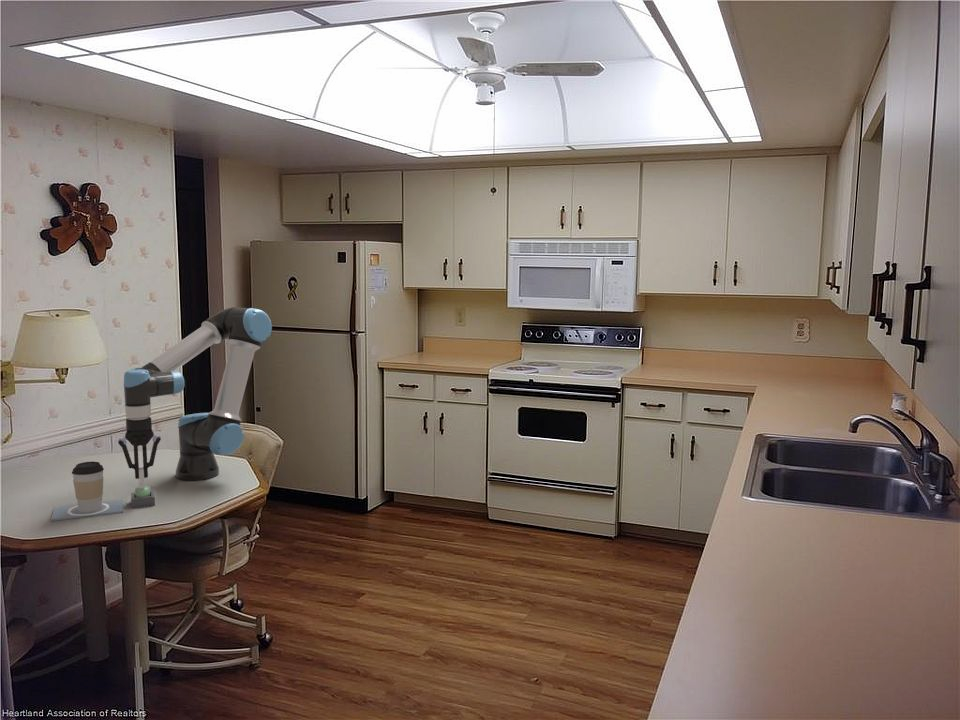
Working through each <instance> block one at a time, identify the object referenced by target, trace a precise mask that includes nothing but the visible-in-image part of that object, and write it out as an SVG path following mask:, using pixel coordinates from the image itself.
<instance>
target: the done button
mask: <svg viewBox="0 0 960 720" xmlns="http://www.w3.org/2000/svg"><path fill="white" fill-rule="evenodd" d="M150 491H151V487H150V486H147V485H145V489H140V486H138V487H137V486H136V487H135V488H134V493H135V496H136V498H139V497H148V496H150Z"/></svg>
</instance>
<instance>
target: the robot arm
mask: <svg viewBox="0 0 960 720" xmlns="http://www.w3.org/2000/svg"><path fill="white" fill-rule="evenodd" d="M272 325H273V324H272V321H271V319H270V316H269V315H268V314H267V313H266V312H265V311H263V310H261V309H260V308H259V309H258V308H255V307H249V308H248V307H238V306H230V307H228V308H225V309H223V310H220V311H218V312H217V313H215V314H213V315H212V316H210V317H208V318H207V319H205V320H204V321H202V323H201V326H200V327H199V328H197V329H196V330H194V331H193V332H191V333H190V334H188V335H187V336H185V338H183V339H181V340H180V341H178V342H177V343H176V344H174V345H173V346H171V347H170V348H168V349H167V350H165V351H164V352H162V353H161V354H158V356H156V357H155V358H153V359H152V360H151V361H149V362H148V363H146V364H145V365H143V366H141V367H133V368H131V369H130V370H127V371H125V372H124V373H123V388H124V390H123V391H124V392H123V393H124V407H125V408H124V411H125V412H124V413H125V418H126V419H125V425H126V426H125V428H126V432H125V435H124V436H123V437H122V438H120V439H118V442H117V443H118V445H119V446H120V447H121V448H122V452H123V454H124V457H125V461H126V463H127V466H128V468H129V469H133V470H134V477H135V478H134V479H135V480H138V481H139V487H140V489H145V486H146V485H145V479H146V478H148V477H149V471H148V468H151V467H153V466H154V463H155V459H156V454H157V449H158V446H159V443H160V441H161V440H162V438H161V436H160V435H159V436H158V435H156V434H154V431H153V426H152V424H153V423H152V417H151V416H152V405H151V404H152V403H151V398H155V397H157V398H158V397H163V396H169V395H172V396H173V395H175V394H180V393H182V391H183V390H184V388H185V378H184V375H183V374H182V373H181V372H179V371H177V370H179V368H181V367H183V366H184V365H185V364H187V363H188V362H190V361H191V360H192V359H194V358H195V357H197V356H198V355H200V354H201V353H202V352H204V351H206V349H208V348H209V347H211V346H212V345H215V344H216V345H217V344H220V343H221V342H223V341H225V340H227V341H228V343H229V344H230V349H229V353H228V355H227V360H226V363H225V368H224V371H223V374H222V379H221V382H220V385H219V389H218V393H217V397H216V401H215V405H214V408H213V410H212V411H209V412H198V413H192V414H186V415H183V416H181V417H180V418H179V419H178V425H177V428H178V443H179V459H178V462H177V466H176V469H175V478H176V479H178V480H182V481H203V480H207V479H212V478H214V477H217V476H218V475H219V473H220V467H219V464H218V461H217V459H216V456H215V455H220V456H221V455H222V456H228V455H232V454H233V453H235V452H236V451H237V450H239V448H240V447H241V445H242V444H243V442H244V437H245V436H244V432H243V428H242V427H241V423H242V418H241V417H240V416H239V414H240V413H239V412H240V411H241V410H240V409H241V405H242V402H243V398H244V395H245V391H246V387H247V383H248V380H249V375H250V372H251V368H252V363H253V359H254V356H255V352H257V351H258V350H260V349H261V345H262V342H264V341H266V340H267V339H268V338H269V337H270V336H271V333H272V330H273V326H272ZM151 440H152V442H153V444H152V448H151V453H150V457H149V461H148V451H147V448H148V447H147V445H148V444H149V443H150V441H151ZM127 441H128V442H129V444H130V445H132V446H133V460H134V461H132V458H131V456H130V453H129V449H128V446H127V443H128V442H127ZM139 446H141V448H142V466H143V467H139V466H140V465H139ZM133 462H134V463H133Z"/></svg>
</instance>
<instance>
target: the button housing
mask: <svg viewBox="0 0 960 720" xmlns="http://www.w3.org/2000/svg"><path fill="white" fill-rule="evenodd" d="M130 501H131V502H130V504H131V509H137V508H146V507H154V505H155V506H156V497H155V490H150V496H148V497H139V498H136V496H135V492H131V493H130ZM144 506H145V507H144Z"/></svg>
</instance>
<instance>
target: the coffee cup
mask: <svg viewBox="0 0 960 720" xmlns="http://www.w3.org/2000/svg"><path fill="white" fill-rule="evenodd" d="M71 475H72V478H73V480H72V482H73V487H74V488H73V489H74V493H75V499H76V503H77V504H76V505H78V510H79V511H80V512H93V511H97V510H100V509H101V508H102V502H103V495H104V467H103V465H102V464H101V463H100V461H98V462H97V461H84V462H80V463H78V464H76V465H75V466H74V468H72V471H71Z"/></svg>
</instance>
